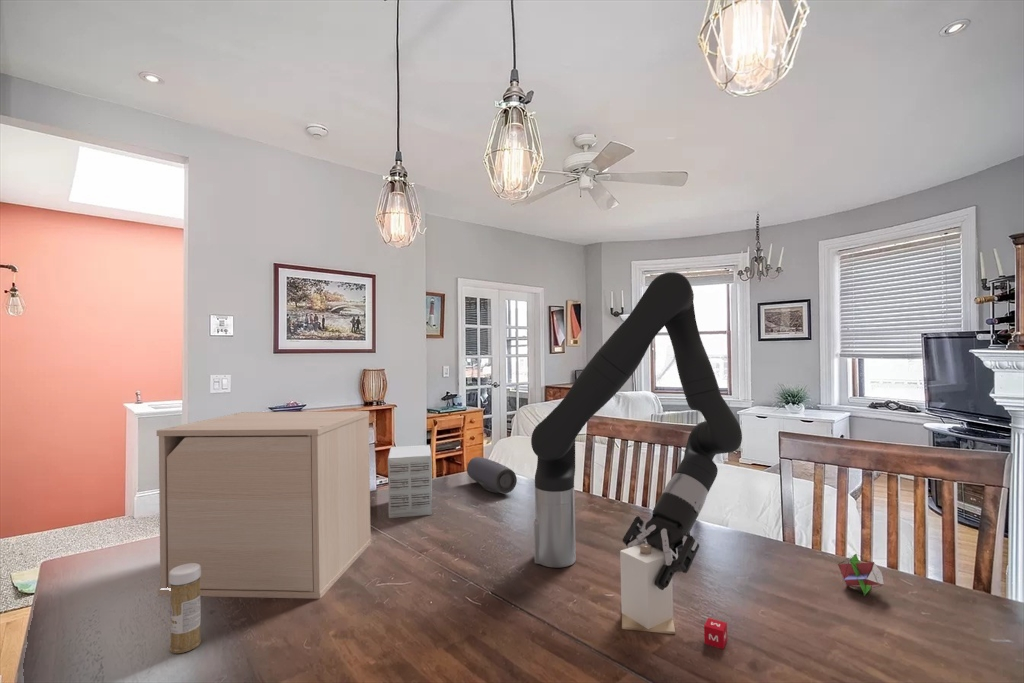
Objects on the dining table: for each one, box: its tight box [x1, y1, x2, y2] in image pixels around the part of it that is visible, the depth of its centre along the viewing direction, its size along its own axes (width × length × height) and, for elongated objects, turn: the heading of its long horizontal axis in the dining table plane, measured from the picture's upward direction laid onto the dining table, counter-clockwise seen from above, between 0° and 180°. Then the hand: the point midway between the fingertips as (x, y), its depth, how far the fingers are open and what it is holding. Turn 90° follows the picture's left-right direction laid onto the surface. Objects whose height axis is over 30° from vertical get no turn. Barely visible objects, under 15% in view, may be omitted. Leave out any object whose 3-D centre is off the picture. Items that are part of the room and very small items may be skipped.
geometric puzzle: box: [837, 553, 885, 597], centre depth 100 cm, size 7×7×8 cm
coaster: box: [621, 612, 676, 635], centre depth 92 cm, size 9×9×1 cm
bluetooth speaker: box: [466, 456, 518, 494], centre depth 177 cm, size 23×9×10 cm, turn 30°
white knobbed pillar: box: [619, 543, 674, 629], centre depth 92 cm, size 6×6×13 cm
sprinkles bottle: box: [169, 563, 202, 654], centre depth 85 cm, size 5×5×13 cm
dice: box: [703, 617, 728, 650], centre depth 84 cm, size 3×3×3 cm
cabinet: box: [156, 410, 372, 600], centre depth 117 cm, size 35×29×34 cm
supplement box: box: [387, 444, 433, 519], centre depth 158 cm, size 17×13×18 cm
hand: (640, 578), depth 91 cm, fingers open, 8 cm apart
